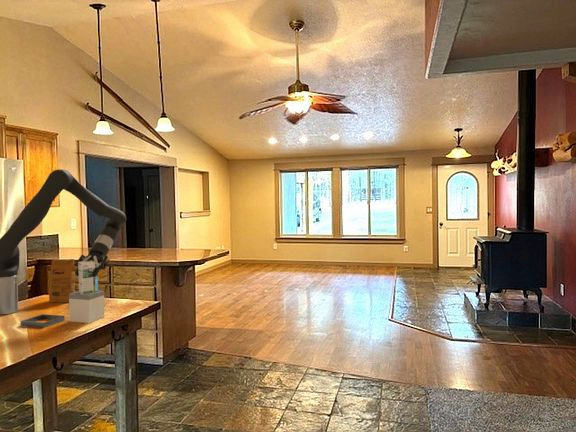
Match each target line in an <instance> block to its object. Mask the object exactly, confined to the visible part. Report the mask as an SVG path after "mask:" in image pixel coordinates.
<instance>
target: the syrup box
mask: <svg viewBox="0 0 576 432" xmlns="http://www.w3.org/2000/svg"><path fill="white" fill-rule="evenodd" d="M77 268H78V275H79V276H78V291H79V294H81V295H90V294H94V293H96V283H95V277H93V276H92V275H91V274H92V272H93V270H94V269H95V268H96V266H95V262H94V261H82V262H78V267H77Z"/></svg>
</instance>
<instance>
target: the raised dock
mask: <svg viewBox="0 0 576 432" xmlns="http://www.w3.org/2000/svg"><path fill="white" fill-rule="evenodd" d="M68 306H69V307H68V308H69V309H68V311H69V312H68V315H69V317H68V318H69V322H73V323H85V324H90V323H93V322H96V321H98V320H100V319H102V318H105V290H100V289H98V290H96V293H94V294H90V295H81V294H79V290H78V291H75V293H71V294H69V302H68Z"/></svg>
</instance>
